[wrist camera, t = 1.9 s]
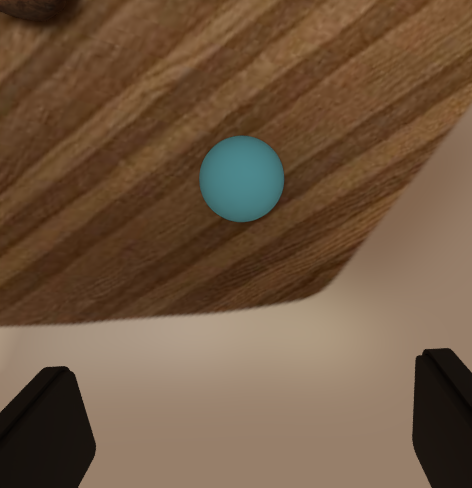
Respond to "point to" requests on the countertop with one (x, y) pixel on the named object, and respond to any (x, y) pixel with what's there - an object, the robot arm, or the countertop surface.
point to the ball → (241, 178)
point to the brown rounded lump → (32, 8)
